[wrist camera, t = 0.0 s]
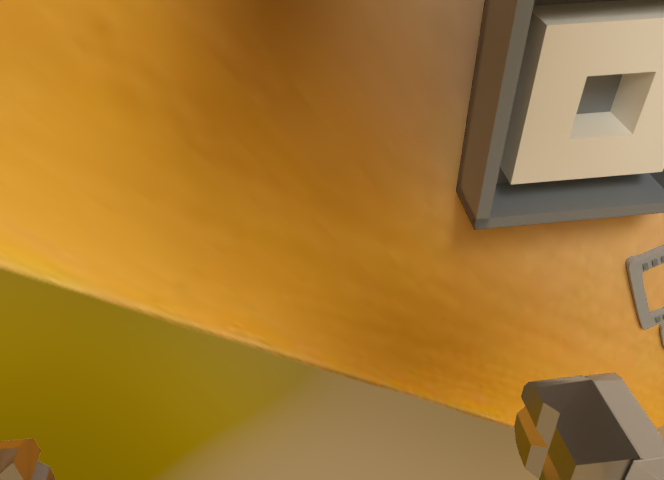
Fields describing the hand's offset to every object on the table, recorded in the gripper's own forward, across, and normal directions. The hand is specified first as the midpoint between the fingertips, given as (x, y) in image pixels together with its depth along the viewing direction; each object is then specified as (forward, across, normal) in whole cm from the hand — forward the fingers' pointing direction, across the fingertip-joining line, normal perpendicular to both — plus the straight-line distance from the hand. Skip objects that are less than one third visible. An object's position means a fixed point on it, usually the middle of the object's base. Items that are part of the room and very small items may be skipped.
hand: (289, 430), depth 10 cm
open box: (+40, -27, +10) cm, 49 cm away
